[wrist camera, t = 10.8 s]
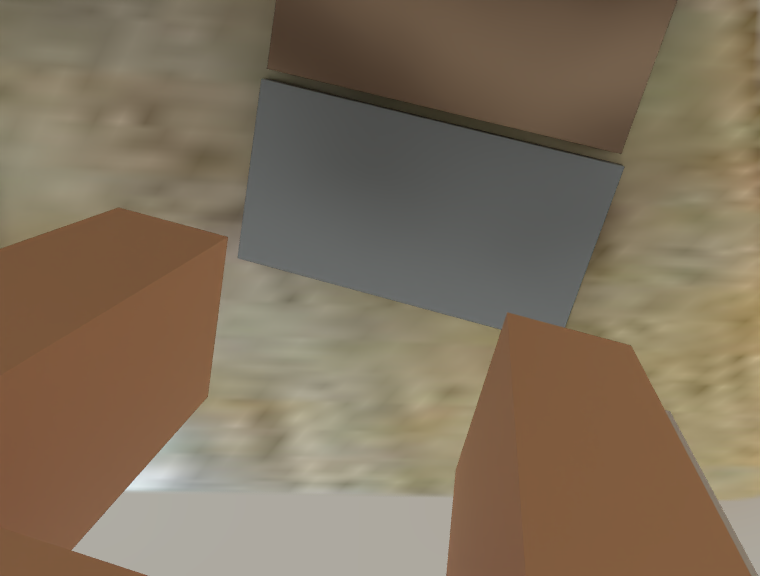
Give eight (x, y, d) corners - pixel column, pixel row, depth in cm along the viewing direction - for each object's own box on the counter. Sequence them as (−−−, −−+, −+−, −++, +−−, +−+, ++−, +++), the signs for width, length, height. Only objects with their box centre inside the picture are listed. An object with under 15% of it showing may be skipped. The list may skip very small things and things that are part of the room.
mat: (266, 78, 25) (261, 78, 24) (621, 164, 24) (624, 166, 23) (242, 254, 28) (237, 258, 27) (556, 339, 27) (558, 344, 26)
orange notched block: (110, 367, 14) (-743, 1016, 4) (118, 207, 13) (-1135, 646, 3) (565, 502, 13) (778, 1721, 3) (631, 345, 12) (1338, 1698, 2)
